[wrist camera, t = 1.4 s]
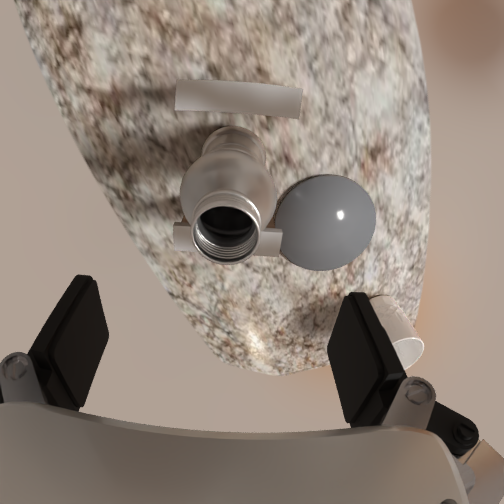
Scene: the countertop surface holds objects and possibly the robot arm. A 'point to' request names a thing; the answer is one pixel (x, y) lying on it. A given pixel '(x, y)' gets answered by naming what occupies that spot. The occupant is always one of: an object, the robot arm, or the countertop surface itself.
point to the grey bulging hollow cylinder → (228, 196)
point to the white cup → (398, 330)
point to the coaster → (325, 222)
